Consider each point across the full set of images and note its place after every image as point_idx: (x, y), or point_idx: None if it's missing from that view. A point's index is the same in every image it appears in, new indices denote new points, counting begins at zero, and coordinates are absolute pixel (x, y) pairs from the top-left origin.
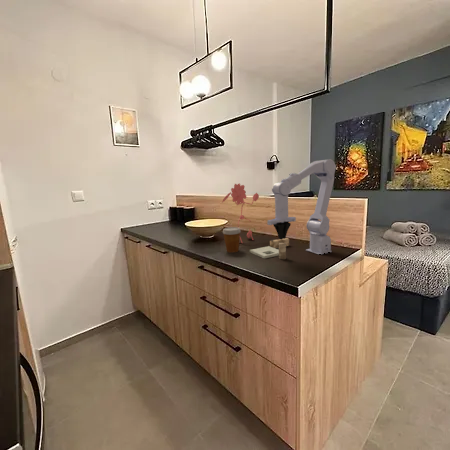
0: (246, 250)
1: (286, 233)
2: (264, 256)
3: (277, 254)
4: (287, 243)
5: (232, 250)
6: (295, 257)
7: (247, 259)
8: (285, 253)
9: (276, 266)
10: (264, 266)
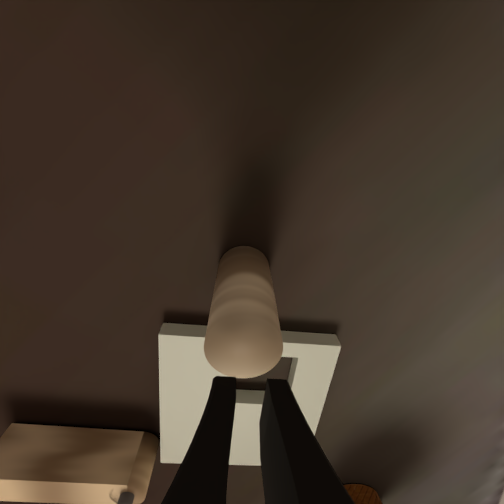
0: None
1: (199, 445)
2: (337, 344)
3: None
4: (14, 441)
5: (375, 499)
6: (150, 223)
7: (412, 377)
8: (234, 266)
9: (416, 167)
10: (465, 224)
